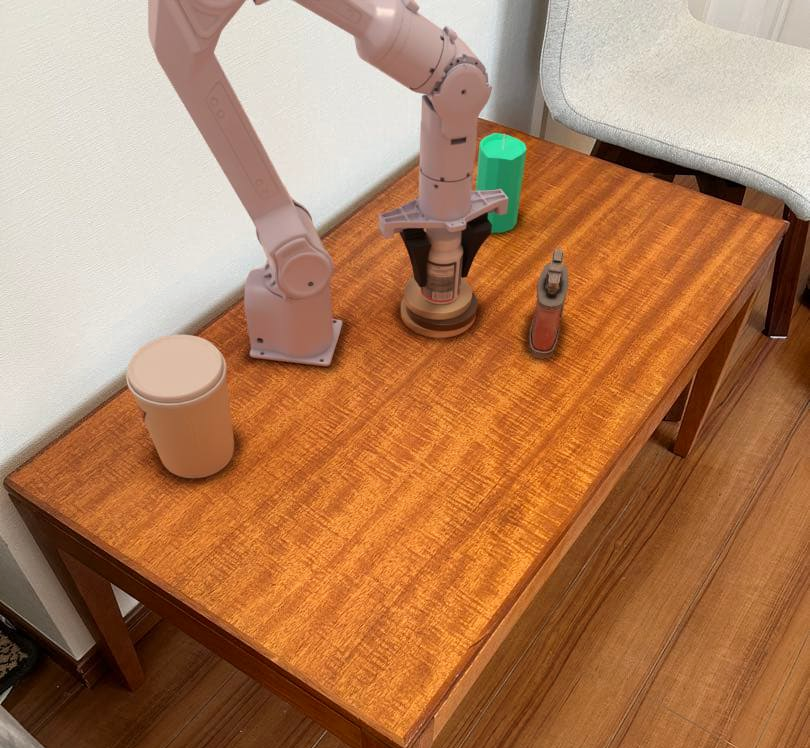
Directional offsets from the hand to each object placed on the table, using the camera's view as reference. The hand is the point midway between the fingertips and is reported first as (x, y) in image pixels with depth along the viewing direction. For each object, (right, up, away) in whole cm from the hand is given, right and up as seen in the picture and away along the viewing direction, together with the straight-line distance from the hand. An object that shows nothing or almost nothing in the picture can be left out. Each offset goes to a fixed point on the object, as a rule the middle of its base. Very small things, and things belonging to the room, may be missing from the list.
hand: (440, 277), depth 99 cm
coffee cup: (-26, -22, -10) cm, 35 cm away
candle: (+8, +13, +16) cm, 22 cm away
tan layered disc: (0, -3, +4) cm, 5 cm away
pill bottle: (0, -1, +2) cm, 2 cm away
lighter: (+12, -7, +2) cm, 14 cm away
